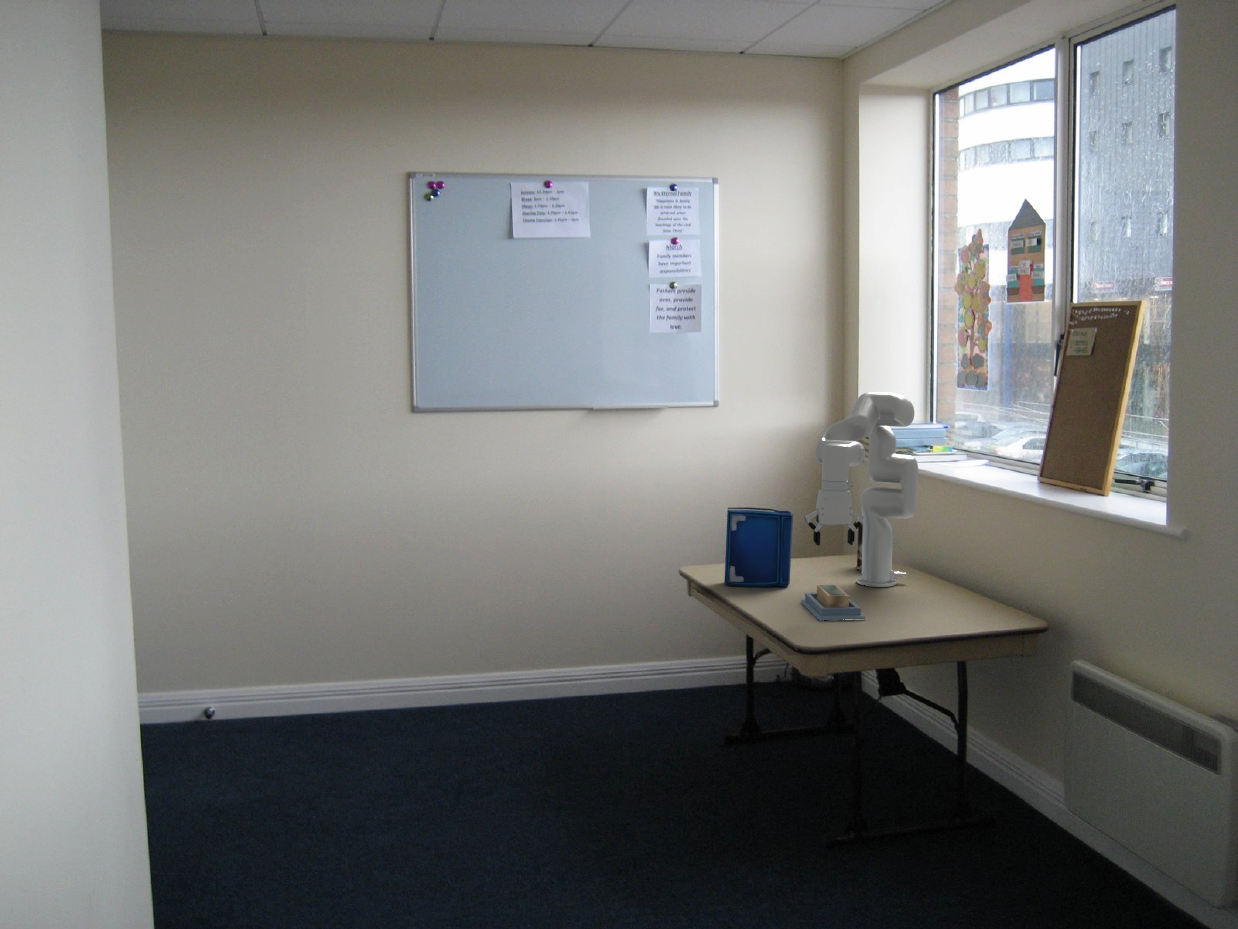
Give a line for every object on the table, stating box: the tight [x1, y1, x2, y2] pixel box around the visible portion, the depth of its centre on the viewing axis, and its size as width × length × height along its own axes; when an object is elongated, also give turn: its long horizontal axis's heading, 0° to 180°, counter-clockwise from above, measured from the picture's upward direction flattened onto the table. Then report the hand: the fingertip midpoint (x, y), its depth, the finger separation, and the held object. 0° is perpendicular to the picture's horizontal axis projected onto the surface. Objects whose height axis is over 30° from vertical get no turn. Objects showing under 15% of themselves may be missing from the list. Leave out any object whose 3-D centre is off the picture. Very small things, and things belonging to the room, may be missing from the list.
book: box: [723, 506, 794, 588], centre depth 353 cm, size 22×7×25 cm, turn 84°
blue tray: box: [800, 592, 866, 622], centre depth 320 cm, size 13×22×3 cm, turn 4°
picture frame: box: [816, 584, 850, 608], centre depth 320 cm, size 6×14×5 cm, turn 3°
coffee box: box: [856, 521, 863, 571], centre depth 378 cm, size 9×6×16 cm
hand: (833, 544), depth 318 cm, fingers open, 9 cm apart
